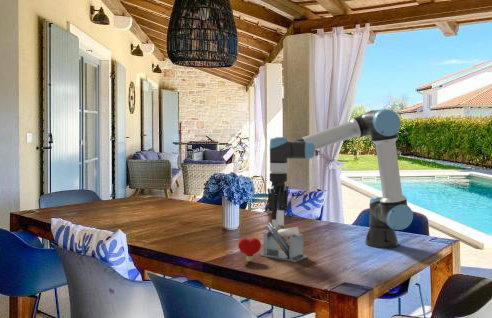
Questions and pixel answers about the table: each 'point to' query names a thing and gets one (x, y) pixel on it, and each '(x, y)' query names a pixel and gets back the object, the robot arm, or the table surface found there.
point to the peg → (289, 232)
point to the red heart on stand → (249, 247)
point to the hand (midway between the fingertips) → (278, 225)
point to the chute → (282, 245)
